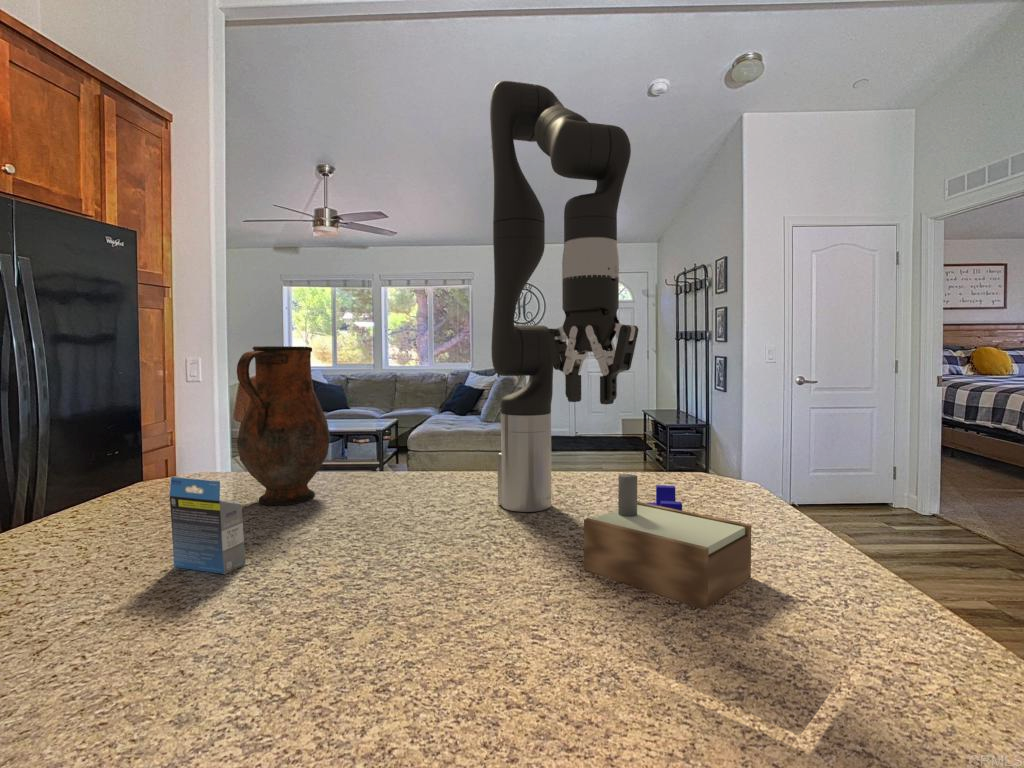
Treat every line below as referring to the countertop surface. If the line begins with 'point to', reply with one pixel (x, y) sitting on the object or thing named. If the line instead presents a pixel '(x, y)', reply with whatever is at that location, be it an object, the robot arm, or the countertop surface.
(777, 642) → the countertop surface
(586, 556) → the walnut box
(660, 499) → the blue curved stepped block
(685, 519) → the cover plate
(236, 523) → the label tape box
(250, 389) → the pitcher
